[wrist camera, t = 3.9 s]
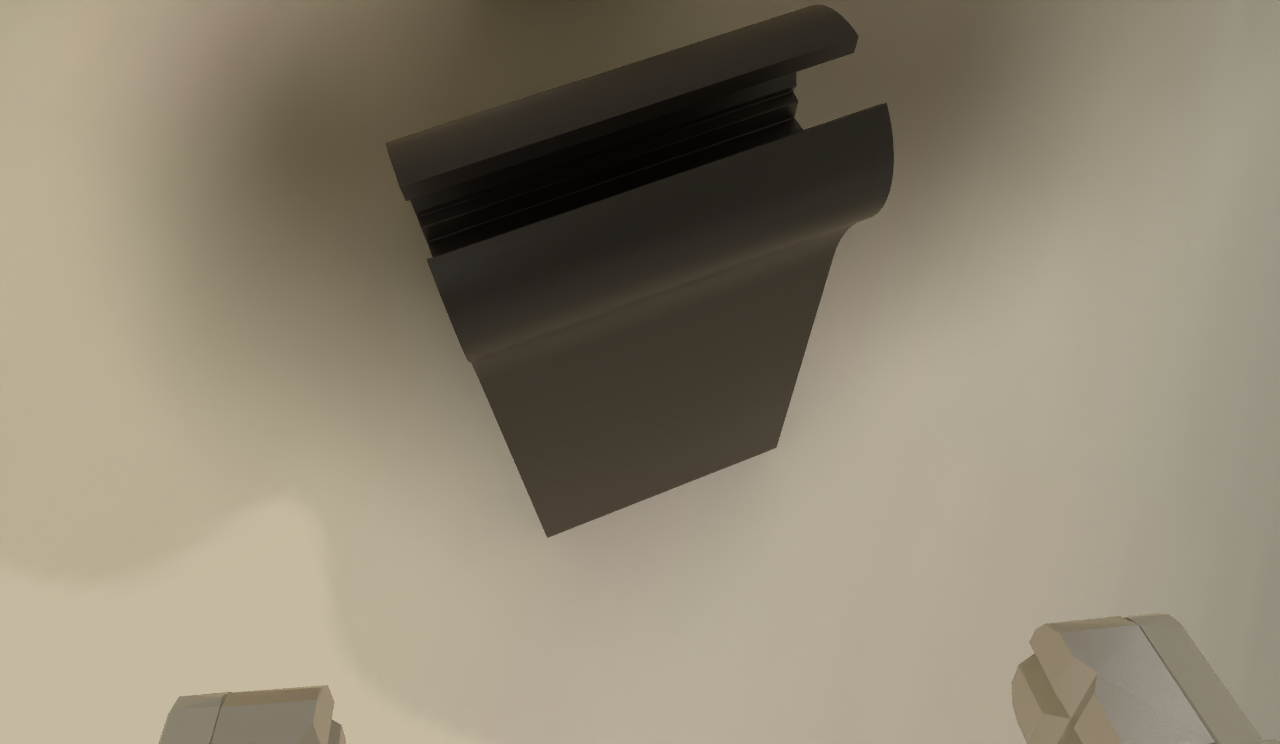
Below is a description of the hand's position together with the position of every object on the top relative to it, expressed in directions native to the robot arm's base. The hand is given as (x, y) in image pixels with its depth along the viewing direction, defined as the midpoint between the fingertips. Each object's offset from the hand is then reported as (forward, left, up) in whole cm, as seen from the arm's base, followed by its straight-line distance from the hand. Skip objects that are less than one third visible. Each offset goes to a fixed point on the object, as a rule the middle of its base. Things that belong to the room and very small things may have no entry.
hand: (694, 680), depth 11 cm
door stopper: (0, -6, -12) cm, 13 cm away
